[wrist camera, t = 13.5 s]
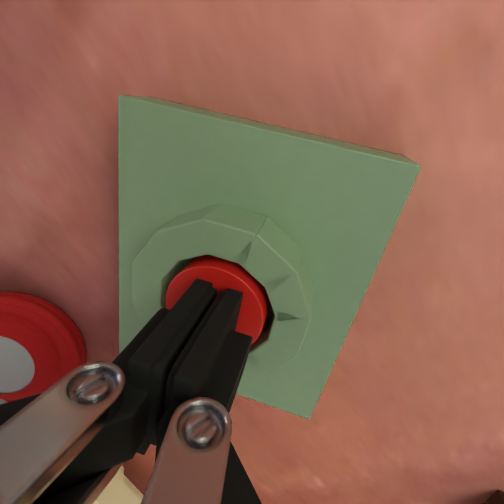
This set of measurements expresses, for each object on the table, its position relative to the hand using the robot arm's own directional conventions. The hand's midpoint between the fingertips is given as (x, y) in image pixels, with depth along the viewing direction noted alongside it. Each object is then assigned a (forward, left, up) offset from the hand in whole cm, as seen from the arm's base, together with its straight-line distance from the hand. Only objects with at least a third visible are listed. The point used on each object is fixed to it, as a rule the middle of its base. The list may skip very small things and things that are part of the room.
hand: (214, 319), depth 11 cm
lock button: (0, 0, -2) cm, 2 cm away
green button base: (0, 0, -4) cm, 4 cm away
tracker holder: (+9, -14, -4) cm, 17 cm away
